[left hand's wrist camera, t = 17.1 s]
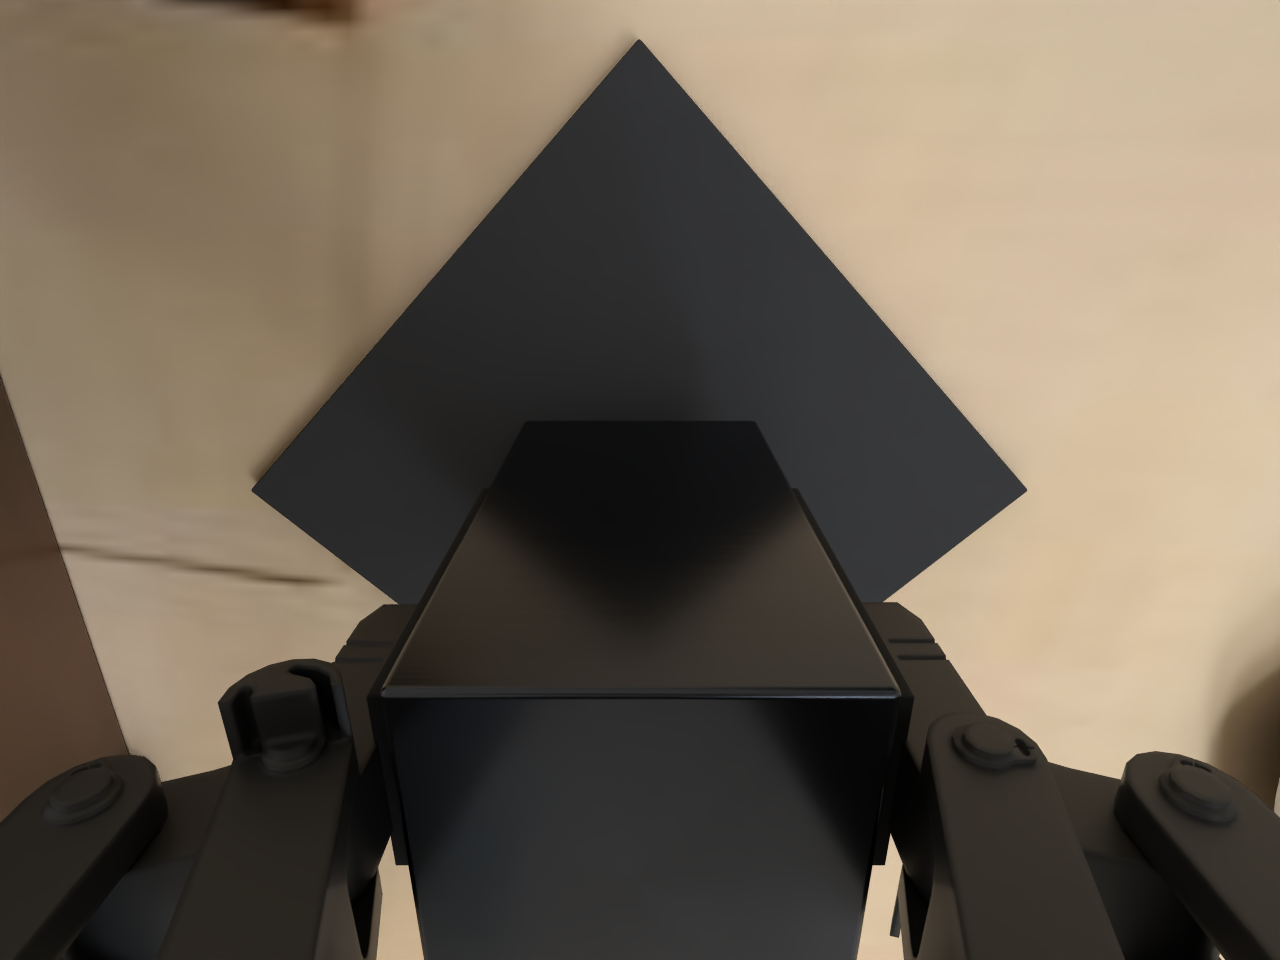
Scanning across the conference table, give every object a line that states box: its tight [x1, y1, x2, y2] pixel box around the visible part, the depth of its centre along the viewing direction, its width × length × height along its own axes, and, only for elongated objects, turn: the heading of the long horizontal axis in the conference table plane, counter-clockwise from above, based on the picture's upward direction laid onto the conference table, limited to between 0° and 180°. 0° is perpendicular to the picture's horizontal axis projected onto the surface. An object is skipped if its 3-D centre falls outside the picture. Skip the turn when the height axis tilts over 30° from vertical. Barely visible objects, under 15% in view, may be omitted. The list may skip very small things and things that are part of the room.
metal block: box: [380, 421, 901, 960], centre depth 12 cm, size 5×5×9 cm
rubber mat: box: [252, 40, 1027, 604], centre depth 18 cm, size 14×14×1 cm
